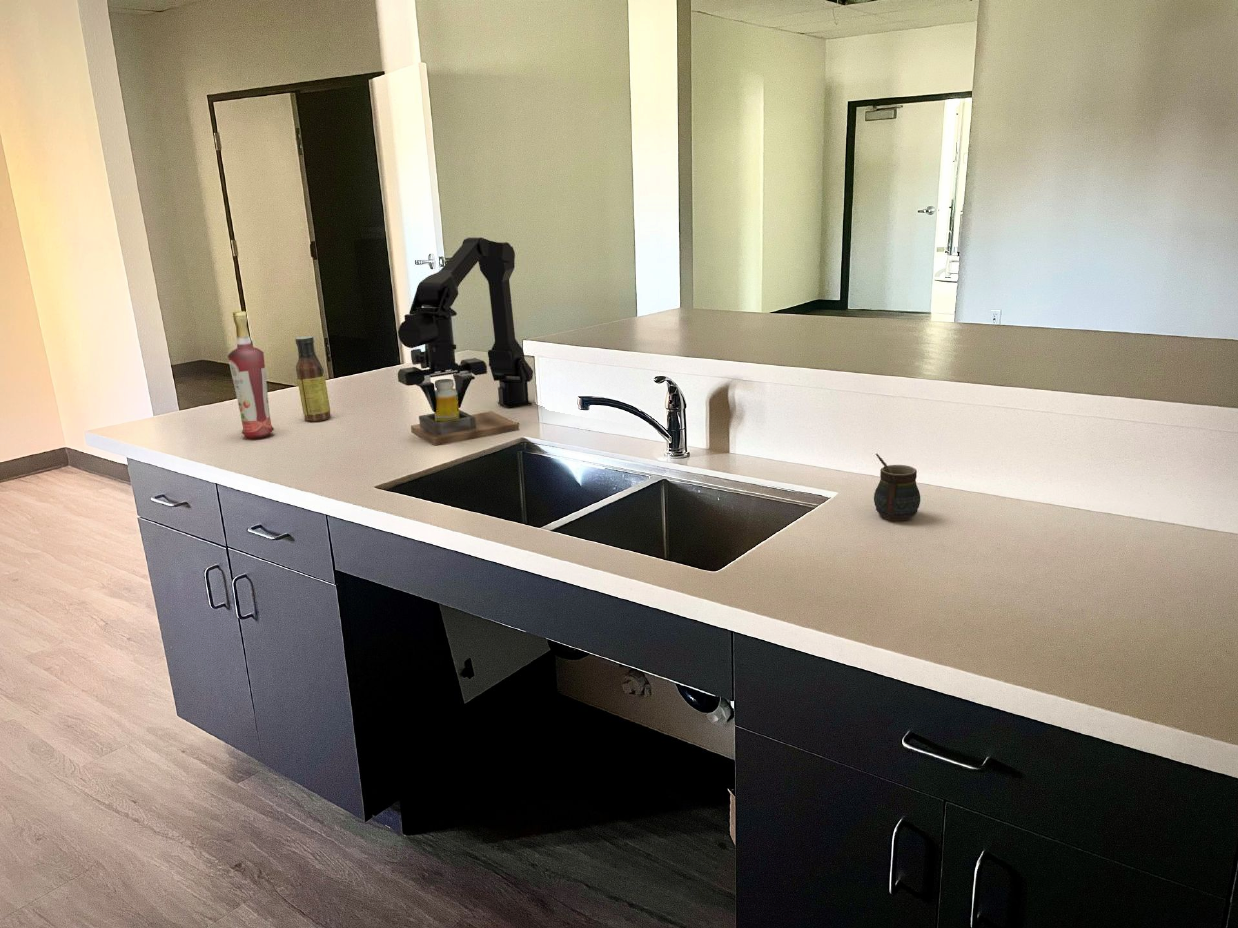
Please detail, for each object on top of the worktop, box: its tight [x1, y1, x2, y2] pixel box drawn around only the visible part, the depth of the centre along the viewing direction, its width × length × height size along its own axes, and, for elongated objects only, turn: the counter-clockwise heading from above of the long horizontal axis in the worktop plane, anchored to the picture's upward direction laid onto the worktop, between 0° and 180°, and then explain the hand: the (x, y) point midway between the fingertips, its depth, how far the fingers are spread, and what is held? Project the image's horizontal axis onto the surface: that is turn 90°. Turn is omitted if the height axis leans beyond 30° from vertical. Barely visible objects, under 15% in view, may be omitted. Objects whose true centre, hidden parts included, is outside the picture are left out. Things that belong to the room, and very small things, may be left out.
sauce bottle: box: [294, 335, 331, 422], centre depth 214 cm, size 6×6×20 cm
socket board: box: [410, 409, 520, 447], centre depth 202 cm, size 20×14×4 cm
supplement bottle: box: [434, 378, 460, 422], centre depth 199 cm, size 5×5×10 cm
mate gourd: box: [873, 453, 921, 522], centre depth 144 cm, size 7×8×10 cm
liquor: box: [227, 310, 275, 440], centre depth 200 cm, size 7×7×28 cm
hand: (446, 409), depth 199 cm, fingers closed on supplement bottle, 5 cm apart
